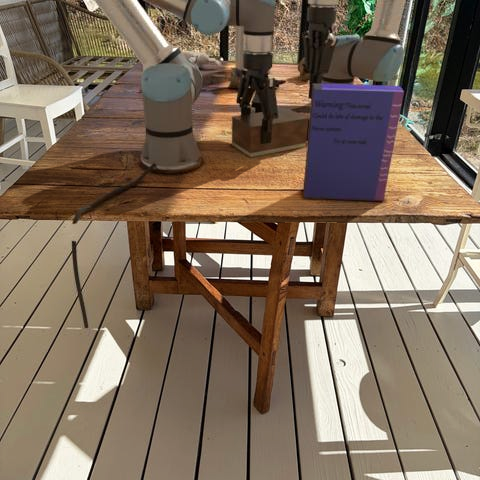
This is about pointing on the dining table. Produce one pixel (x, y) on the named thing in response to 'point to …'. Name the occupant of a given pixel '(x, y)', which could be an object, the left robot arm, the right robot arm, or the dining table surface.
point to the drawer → (308, 124)
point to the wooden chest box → (283, 132)
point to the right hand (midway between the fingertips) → (313, 98)
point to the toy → (200, 58)
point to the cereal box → (351, 141)
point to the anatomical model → (303, 70)
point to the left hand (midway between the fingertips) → (255, 136)
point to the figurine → (238, 79)
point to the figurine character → (255, 105)
